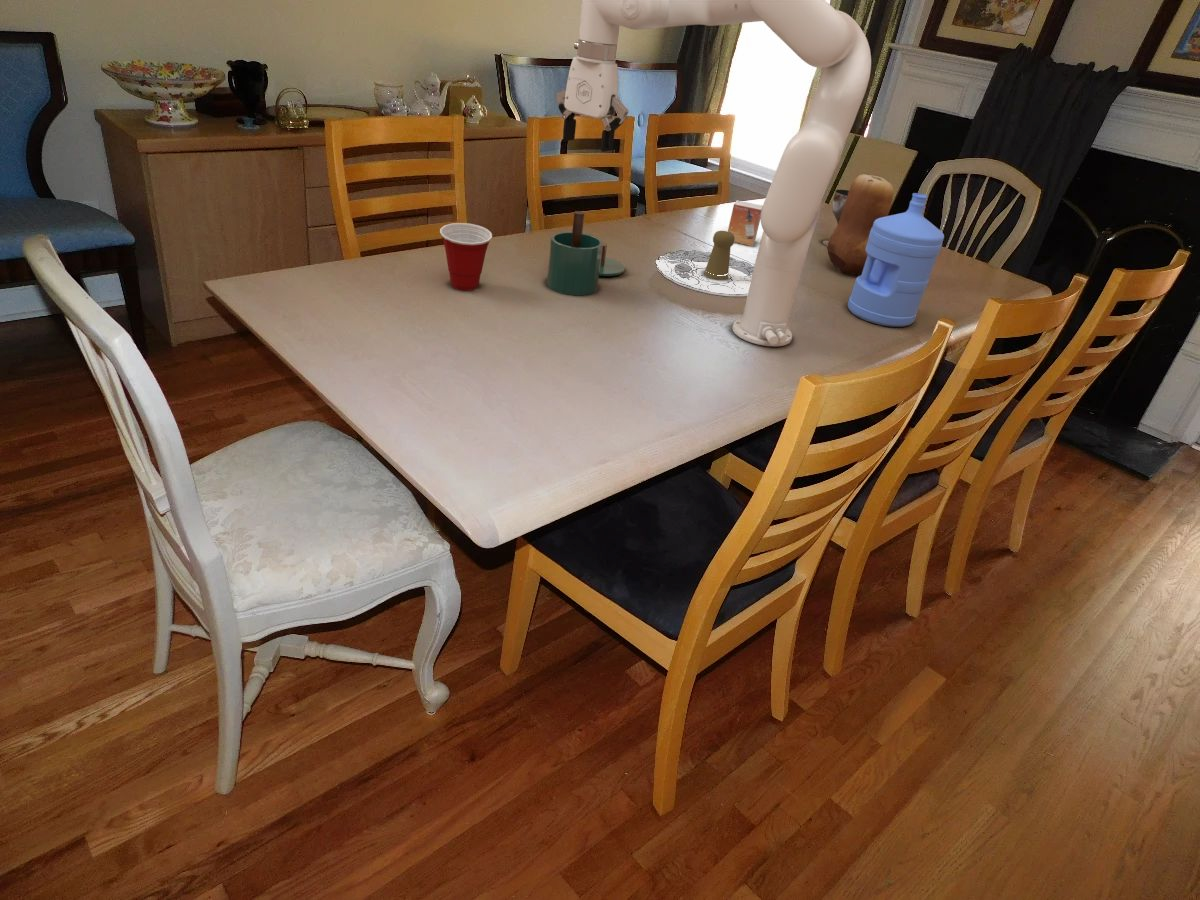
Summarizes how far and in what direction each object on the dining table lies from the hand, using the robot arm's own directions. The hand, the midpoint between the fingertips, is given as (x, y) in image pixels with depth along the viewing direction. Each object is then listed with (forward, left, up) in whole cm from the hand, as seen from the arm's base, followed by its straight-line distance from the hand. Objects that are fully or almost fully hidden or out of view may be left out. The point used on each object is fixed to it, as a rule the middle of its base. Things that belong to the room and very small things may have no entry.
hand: (587, 145), depth 157 cm
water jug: (-7, -73, -31) cm, 79 cm away
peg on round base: (0, 0, -30) cm, 30 cm away
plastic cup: (-4, +24, -31) cm, 39 cm away
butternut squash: (+23, -78, -31) cm, 87 cm away
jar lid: (+12, -8, -30) cm, 33 cm away
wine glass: (+47, -85, -31) cm, 102 cm away
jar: (0, 0, -30) cm, 30 cm away
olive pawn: (+13, -38, -31) cm, 50 cm away
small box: (+43, -54, -31) cm, 75 cm away
